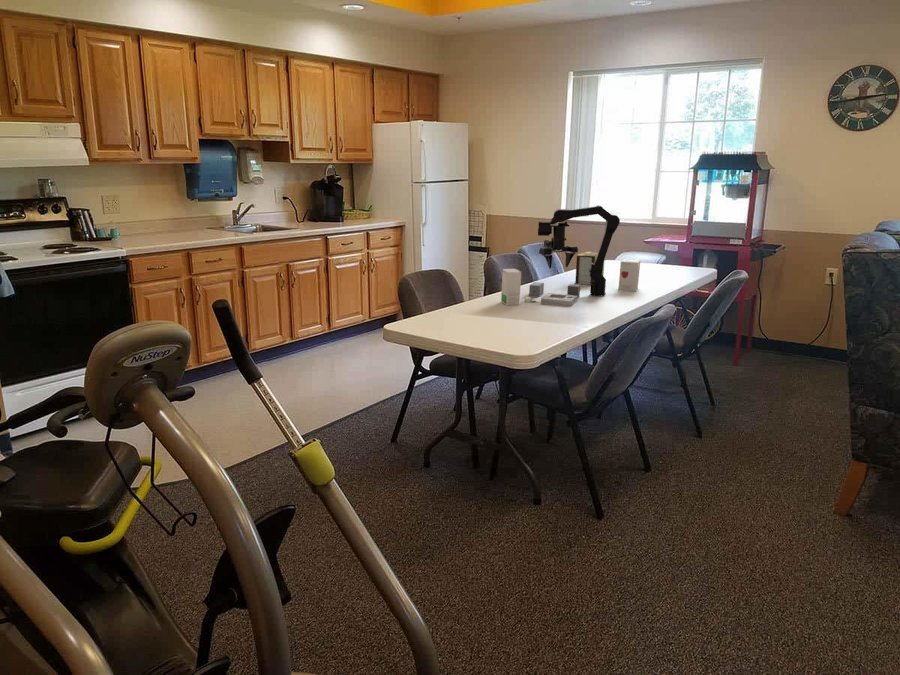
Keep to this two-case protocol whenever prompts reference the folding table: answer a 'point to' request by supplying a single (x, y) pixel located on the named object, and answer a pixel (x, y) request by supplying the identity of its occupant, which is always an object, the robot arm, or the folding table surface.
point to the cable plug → (528, 299)
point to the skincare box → (511, 287)
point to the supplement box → (629, 275)
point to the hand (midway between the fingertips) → (558, 267)
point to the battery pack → (536, 289)
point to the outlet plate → (559, 299)
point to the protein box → (585, 267)
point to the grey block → (574, 290)
